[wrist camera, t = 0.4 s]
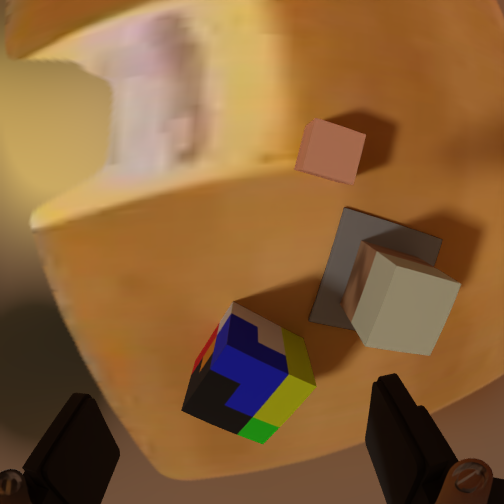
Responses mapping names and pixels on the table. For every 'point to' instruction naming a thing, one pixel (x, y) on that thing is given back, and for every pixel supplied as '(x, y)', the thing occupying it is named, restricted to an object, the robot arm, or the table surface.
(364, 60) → the table surface
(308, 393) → the puzzle toy
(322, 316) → the mat
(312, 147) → the terracotta block
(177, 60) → the table surface
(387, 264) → the tower top
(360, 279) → the tower base
